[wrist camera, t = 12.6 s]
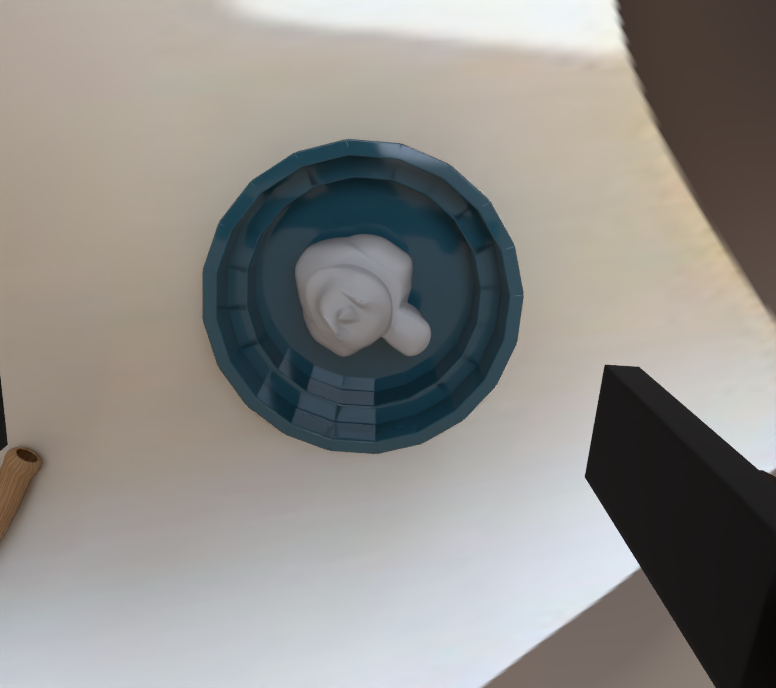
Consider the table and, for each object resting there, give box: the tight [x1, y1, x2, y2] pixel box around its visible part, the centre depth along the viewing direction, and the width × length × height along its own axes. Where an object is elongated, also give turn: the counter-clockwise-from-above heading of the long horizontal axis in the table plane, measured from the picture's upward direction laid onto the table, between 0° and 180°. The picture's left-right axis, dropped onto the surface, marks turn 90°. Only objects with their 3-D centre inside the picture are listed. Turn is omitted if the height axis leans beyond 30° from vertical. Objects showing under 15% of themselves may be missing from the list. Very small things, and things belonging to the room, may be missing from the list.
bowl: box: [203, 139, 523, 454], centre depth 29 cm, size 13×13×4 cm
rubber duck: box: [295, 234, 431, 357], centre depth 27 cm, size 5×7×8 cm
